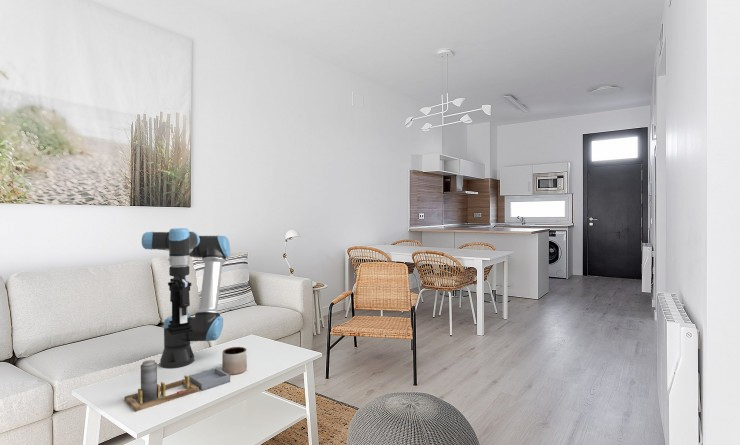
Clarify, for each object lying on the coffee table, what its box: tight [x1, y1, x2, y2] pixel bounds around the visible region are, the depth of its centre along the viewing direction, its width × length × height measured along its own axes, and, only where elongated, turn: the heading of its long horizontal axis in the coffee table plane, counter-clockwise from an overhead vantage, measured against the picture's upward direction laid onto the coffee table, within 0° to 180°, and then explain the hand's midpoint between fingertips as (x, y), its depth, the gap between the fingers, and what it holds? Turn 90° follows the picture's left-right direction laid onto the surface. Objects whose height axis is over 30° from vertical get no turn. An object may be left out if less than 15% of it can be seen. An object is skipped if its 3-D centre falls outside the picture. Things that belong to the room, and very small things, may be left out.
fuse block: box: [123, 359, 200, 412], centre depth 162 cm, size 13×24×15 cm, turn 137°
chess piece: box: [167, 280, 193, 335], centre depth 167 cm, size 8×8×20 cm
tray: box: [188, 367, 231, 392], centre depth 176 cm, size 13×13×3 cm
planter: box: [221, 346, 248, 376], centre depth 189 cm, size 11×11×10 cm
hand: (179, 321), depth 167 cm, fingers closed on chess piece, 7 cm apart
